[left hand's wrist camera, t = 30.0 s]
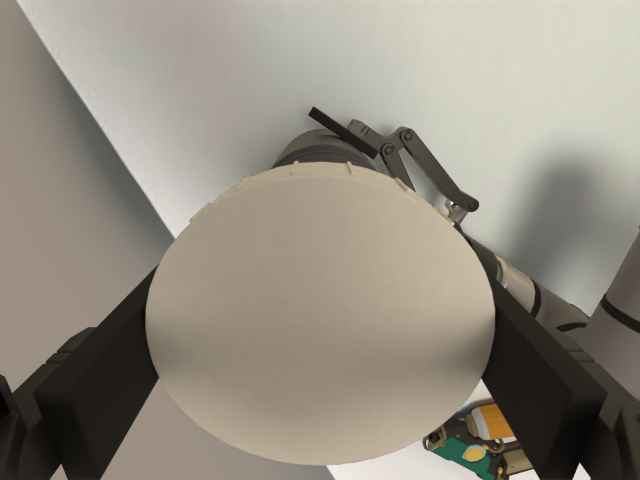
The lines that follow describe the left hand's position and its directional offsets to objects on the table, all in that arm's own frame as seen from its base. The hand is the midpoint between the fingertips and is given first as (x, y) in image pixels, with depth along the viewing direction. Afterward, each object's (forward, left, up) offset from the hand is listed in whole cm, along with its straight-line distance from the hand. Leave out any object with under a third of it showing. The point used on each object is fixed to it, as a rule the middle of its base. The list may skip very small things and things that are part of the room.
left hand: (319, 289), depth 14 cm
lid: (0, 0, +3) cm, 3 cm away
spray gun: (+47, +5, -25) cm, 53 cm away
